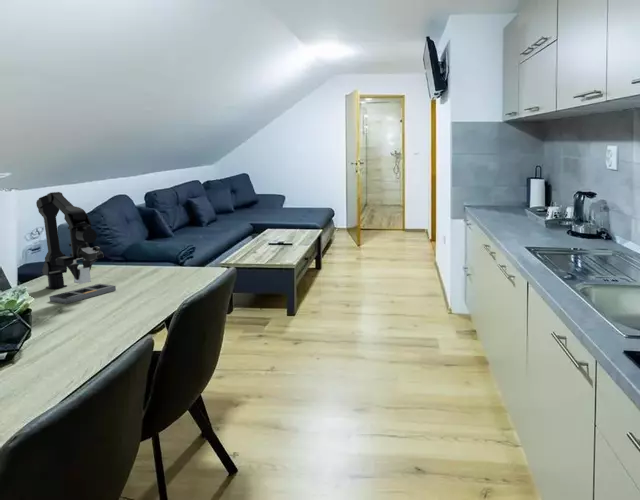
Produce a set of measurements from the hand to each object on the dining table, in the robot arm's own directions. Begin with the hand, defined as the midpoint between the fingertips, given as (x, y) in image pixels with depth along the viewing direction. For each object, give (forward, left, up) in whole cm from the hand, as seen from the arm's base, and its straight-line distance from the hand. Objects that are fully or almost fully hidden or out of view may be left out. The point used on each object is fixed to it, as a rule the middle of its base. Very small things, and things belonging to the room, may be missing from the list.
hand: (82, 278), depth 240 cm
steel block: (0, 0, -2) cm, 2 cm away
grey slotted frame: (0, 0, -7) cm, 7 cm away
